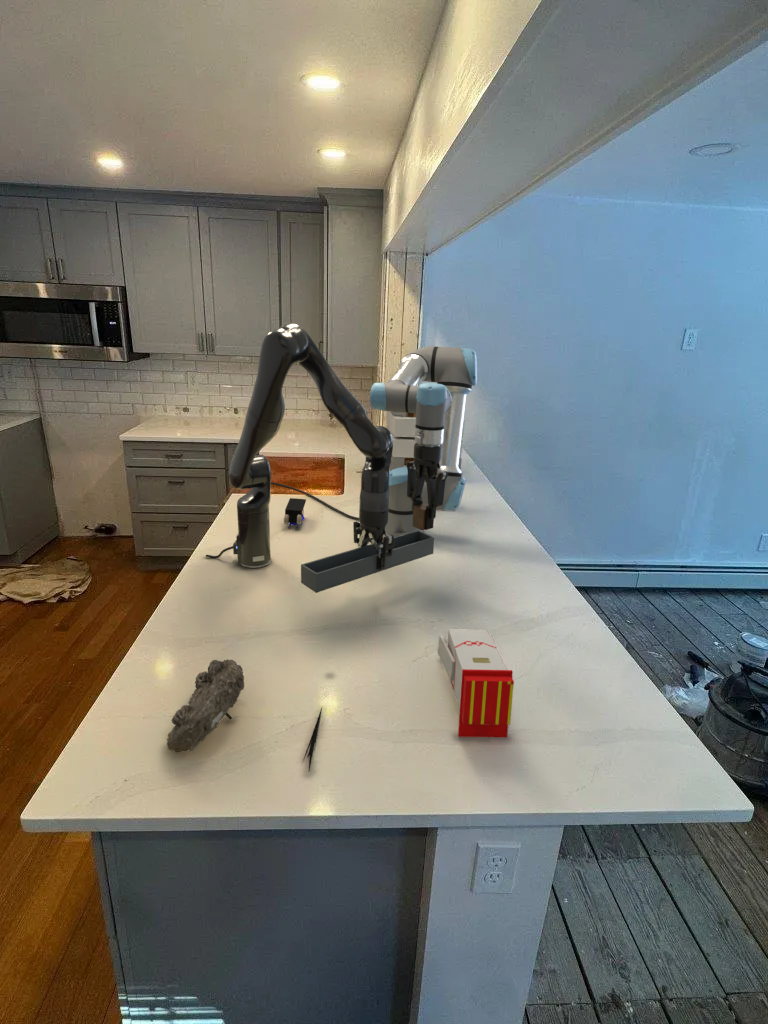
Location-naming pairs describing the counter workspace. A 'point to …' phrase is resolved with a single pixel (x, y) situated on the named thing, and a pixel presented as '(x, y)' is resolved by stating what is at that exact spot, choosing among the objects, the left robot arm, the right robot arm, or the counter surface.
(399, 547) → the trough
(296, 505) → the figurine character
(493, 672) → the toy
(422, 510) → the walnut block
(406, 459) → the white crate
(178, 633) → the counter surface
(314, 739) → the feather
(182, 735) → the fossil
